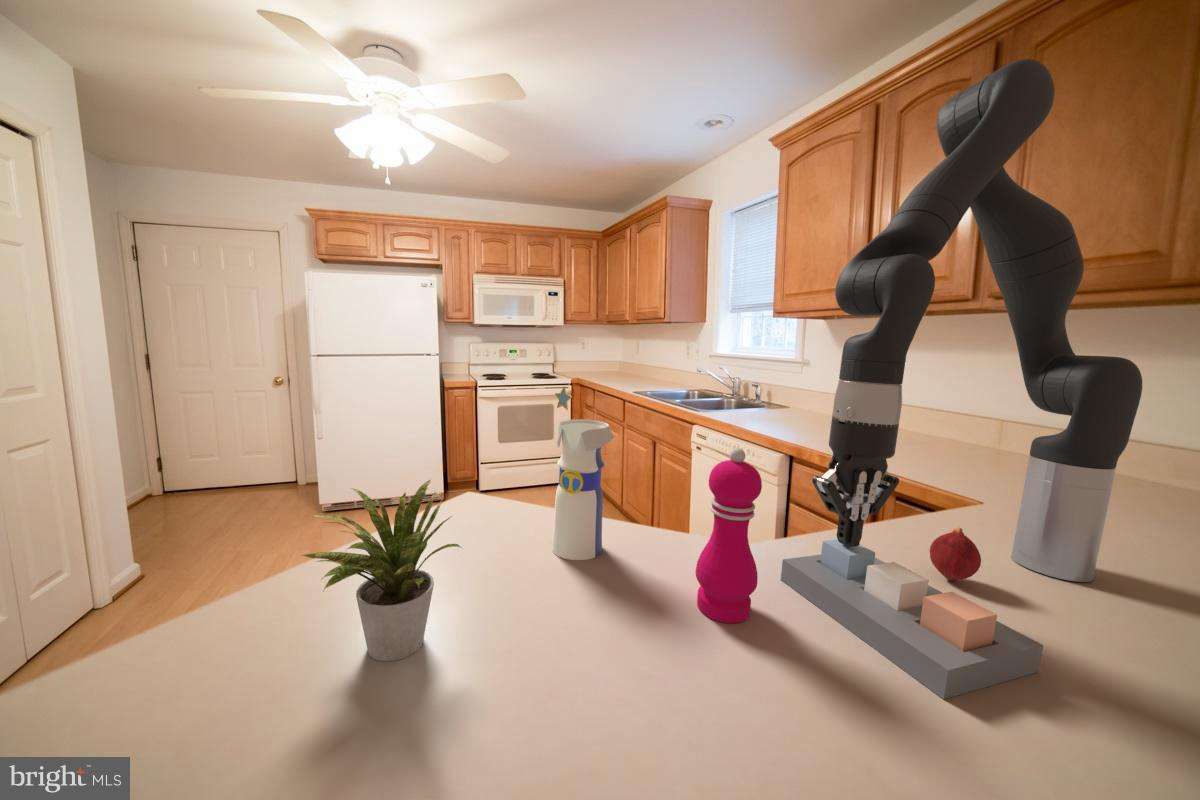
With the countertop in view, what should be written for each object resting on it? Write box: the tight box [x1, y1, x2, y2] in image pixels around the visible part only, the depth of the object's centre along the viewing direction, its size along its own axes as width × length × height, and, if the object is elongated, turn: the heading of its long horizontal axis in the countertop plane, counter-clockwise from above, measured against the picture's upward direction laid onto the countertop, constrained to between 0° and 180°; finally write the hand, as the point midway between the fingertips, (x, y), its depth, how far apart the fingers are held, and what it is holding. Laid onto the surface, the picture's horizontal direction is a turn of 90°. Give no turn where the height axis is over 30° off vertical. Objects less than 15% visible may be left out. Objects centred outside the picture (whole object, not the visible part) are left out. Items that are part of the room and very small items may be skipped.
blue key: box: [820, 538, 876, 580], centre depth 61 cm, size 4×4×4 cm
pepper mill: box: [695, 447, 763, 624], centre depth 54 cm, size 7×7×20 cm
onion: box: [929, 526, 982, 582], centre depth 65 cm, size 6×6×8 cm
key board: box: [780, 554, 1044, 700], centre depth 55 cm, size 14×22×3 cm, turn 19°
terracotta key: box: [920, 591, 998, 652], centre depth 48 cm, size 4×4×4 cm
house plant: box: [301, 479, 464, 662], centre depth 46 cm, size 14×14×16 cm
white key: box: [864, 561, 929, 611], centre depth 55 cm, size 4×4×4 cm
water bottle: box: [551, 385, 615, 561], centre depth 67 cm, size 8×9×25 cm
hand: (847, 544), depth 61 cm, fingers closed
